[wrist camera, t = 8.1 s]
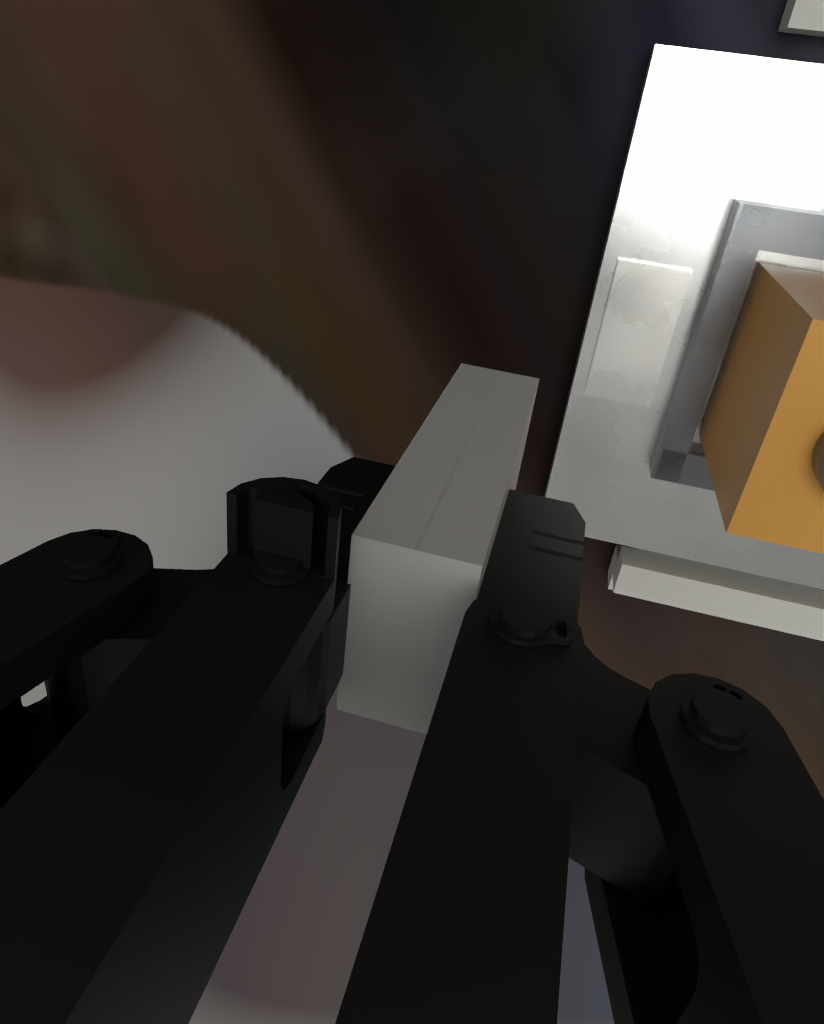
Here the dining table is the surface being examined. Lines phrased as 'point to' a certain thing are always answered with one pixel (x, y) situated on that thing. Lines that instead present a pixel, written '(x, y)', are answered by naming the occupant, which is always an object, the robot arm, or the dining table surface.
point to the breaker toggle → (772, 413)
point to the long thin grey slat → (718, 591)
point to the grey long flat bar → (803, 17)
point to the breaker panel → (689, 297)
